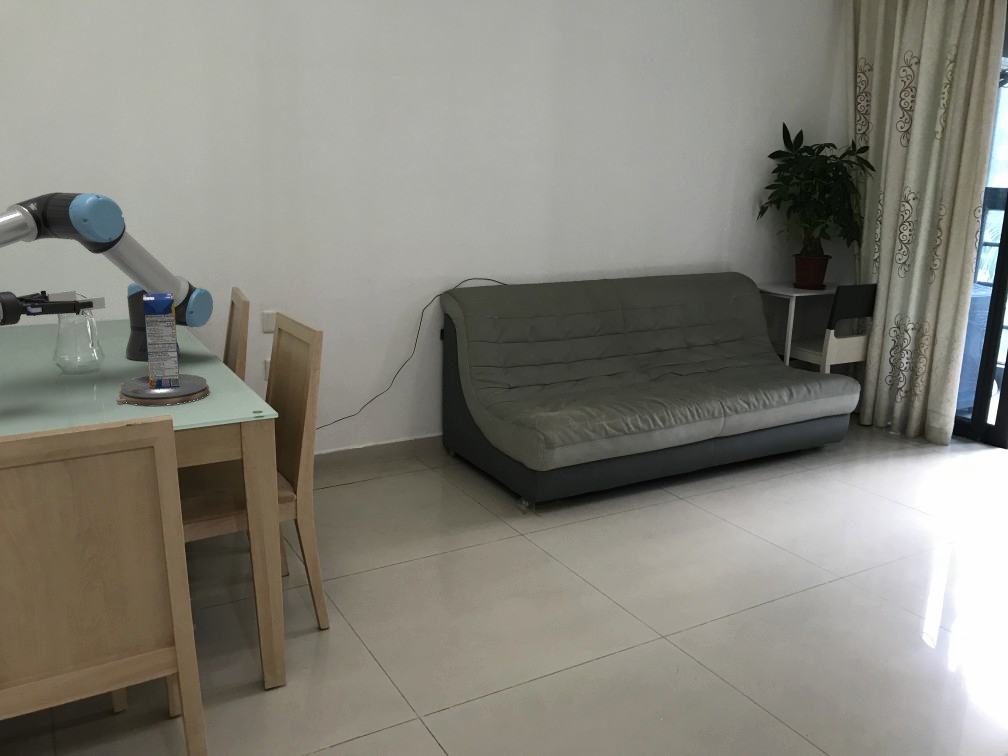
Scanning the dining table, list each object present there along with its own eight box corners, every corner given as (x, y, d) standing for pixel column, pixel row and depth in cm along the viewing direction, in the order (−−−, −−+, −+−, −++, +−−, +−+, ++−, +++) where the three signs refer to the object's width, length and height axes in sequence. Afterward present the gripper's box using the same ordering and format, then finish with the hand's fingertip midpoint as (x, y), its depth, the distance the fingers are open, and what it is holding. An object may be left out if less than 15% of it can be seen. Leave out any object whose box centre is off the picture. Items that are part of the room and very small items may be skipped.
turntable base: (180, 380, 220) (179, 375, 220) (225, 394, 208) (225, 388, 207) (96, 396, 202) (95, 390, 202) (140, 412, 190) (140, 406, 190)
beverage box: (149, 389, 199) (143, 300, 194) (149, 378, 209) (143, 293, 203) (179, 387, 202) (173, 299, 196) (178, 377, 211) (172, 293, 206)
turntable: (179, 375, 219) (178, 370, 219) (222, 388, 207) (222, 382, 207) (105, 389, 204) (105, 383, 203) (148, 403, 192) (148, 397, 191)
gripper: (-27, 319, 190) (66, 308, 206) (23, 333, 175) (118, 320, 192) (-31, 287, 188) (62, 279, 204) (18, 299, 174) (115, 289, 190)
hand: (89, 299), depth 198 cm, fingers open, 13 cm apart
